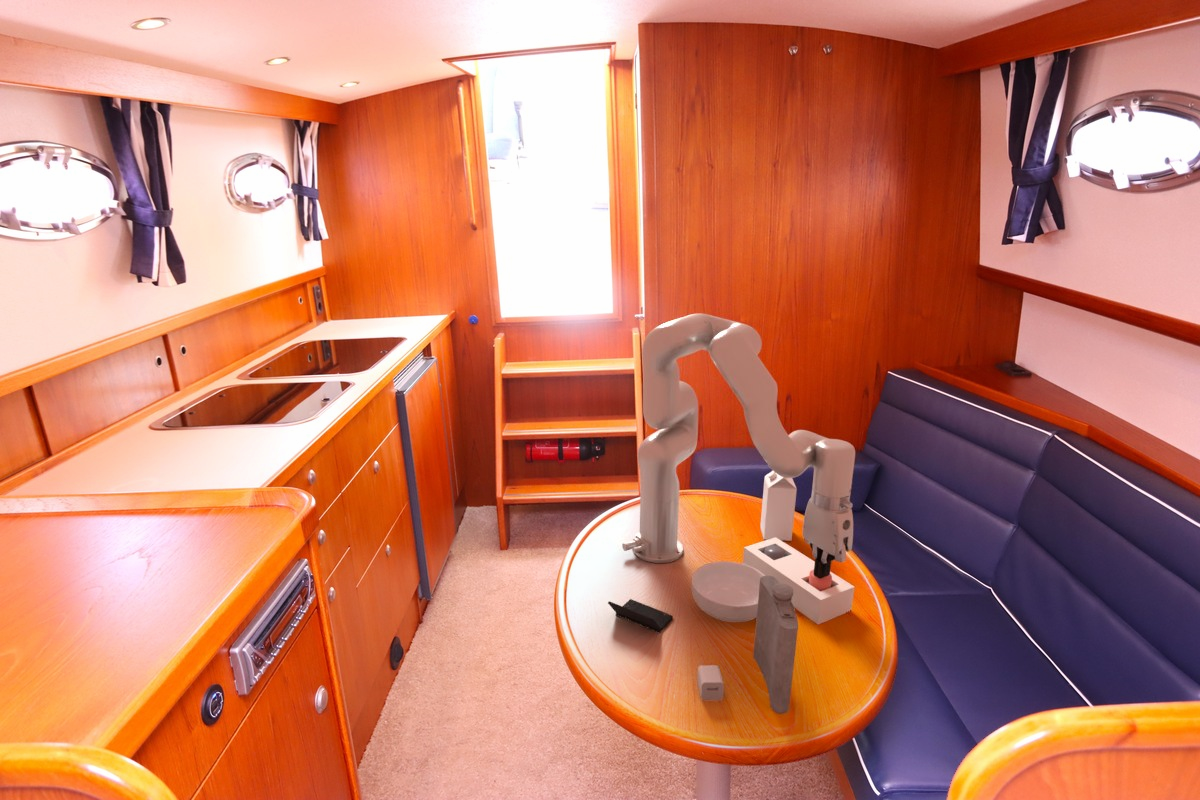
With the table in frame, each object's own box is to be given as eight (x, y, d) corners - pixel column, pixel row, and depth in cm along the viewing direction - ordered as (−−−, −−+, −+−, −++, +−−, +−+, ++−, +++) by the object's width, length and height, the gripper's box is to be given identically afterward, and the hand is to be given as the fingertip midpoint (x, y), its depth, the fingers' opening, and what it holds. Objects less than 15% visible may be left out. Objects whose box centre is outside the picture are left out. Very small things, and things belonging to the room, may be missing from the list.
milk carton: (786, 528, 177) (793, 463, 172) (791, 541, 171) (798, 474, 165) (760, 526, 178) (765, 462, 172) (763, 540, 171) (769, 473, 166)
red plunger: (818, 605, 141) (821, 583, 139) (802, 594, 145) (805, 572, 143) (833, 599, 143) (836, 577, 141) (817, 588, 147) (820, 567, 145)
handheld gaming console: (676, 606, 141) (662, 589, 134) (669, 640, 138) (654, 624, 130) (627, 600, 147) (611, 582, 139) (619, 632, 143) (602, 615, 136)
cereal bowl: (682, 624, 138) (683, 595, 136) (698, 581, 153) (700, 555, 151) (764, 642, 133) (767, 612, 131) (773, 596, 148) (775, 569, 146)
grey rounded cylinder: (772, 578, 153) (774, 557, 151) (758, 568, 157) (760, 548, 155) (787, 572, 155) (789, 552, 153) (773, 563, 159) (775, 543, 157)
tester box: (817, 624, 138) (820, 600, 136) (742, 569, 158) (743, 547, 156) (851, 610, 143) (854, 586, 141) (773, 558, 163) (775, 537, 161)
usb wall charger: (700, 700, 118) (701, 682, 116) (694, 673, 124) (695, 655, 123) (722, 700, 118) (724, 682, 117) (716, 673, 124) (717, 655, 123)
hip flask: (751, 652, 130) (759, 563, 124) (772, 652, 130) (780, 563, 124) (773, 713, 115) (782, 616, 109) (796, 713, 115) (807, 616, 109)
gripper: (872, 508, 132) (861, 587, 138) (816, 481, 145) (808, 554, 150) (846, 517, 129) (836, 598, 134) (790, 488, 141) (783, 563, 147)
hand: (821, 575), depth 142 cm, fingers closed
